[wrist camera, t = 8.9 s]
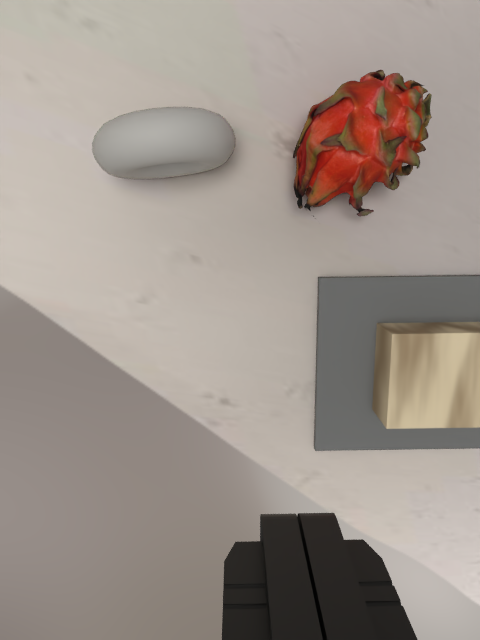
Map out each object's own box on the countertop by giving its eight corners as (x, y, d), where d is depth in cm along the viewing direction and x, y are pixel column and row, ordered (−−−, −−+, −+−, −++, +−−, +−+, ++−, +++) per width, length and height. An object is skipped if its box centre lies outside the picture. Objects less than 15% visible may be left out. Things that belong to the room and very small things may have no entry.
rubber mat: (514, 274, 39) (518, 275, 39) (494, 444, 43) (498, 447, 42) (318, 277, 39) (319, 278, 39) (314, 447, 43) (315, 450, 42)
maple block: (376, 323, 40) (514, 321, 40) (372, 409, 41) (503, 407, 41) (392, 334, 36) (544, 332, 36) (386, 428, 37) (532, 426, 37)
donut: (232, 126, 37) (231, 91, 27) (237, 171, 37) (238, 152, 28) (110, 142, 37) (65, 112, 27) (117, 186, 38) (76, 172, 28)
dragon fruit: (409, 105, 38) (299, 205, 41) (367, 17, 32) (243, 142, 35) (477, 148, 32) (343, 259, 36) (442, 50, 26) (285, 195, 30)
